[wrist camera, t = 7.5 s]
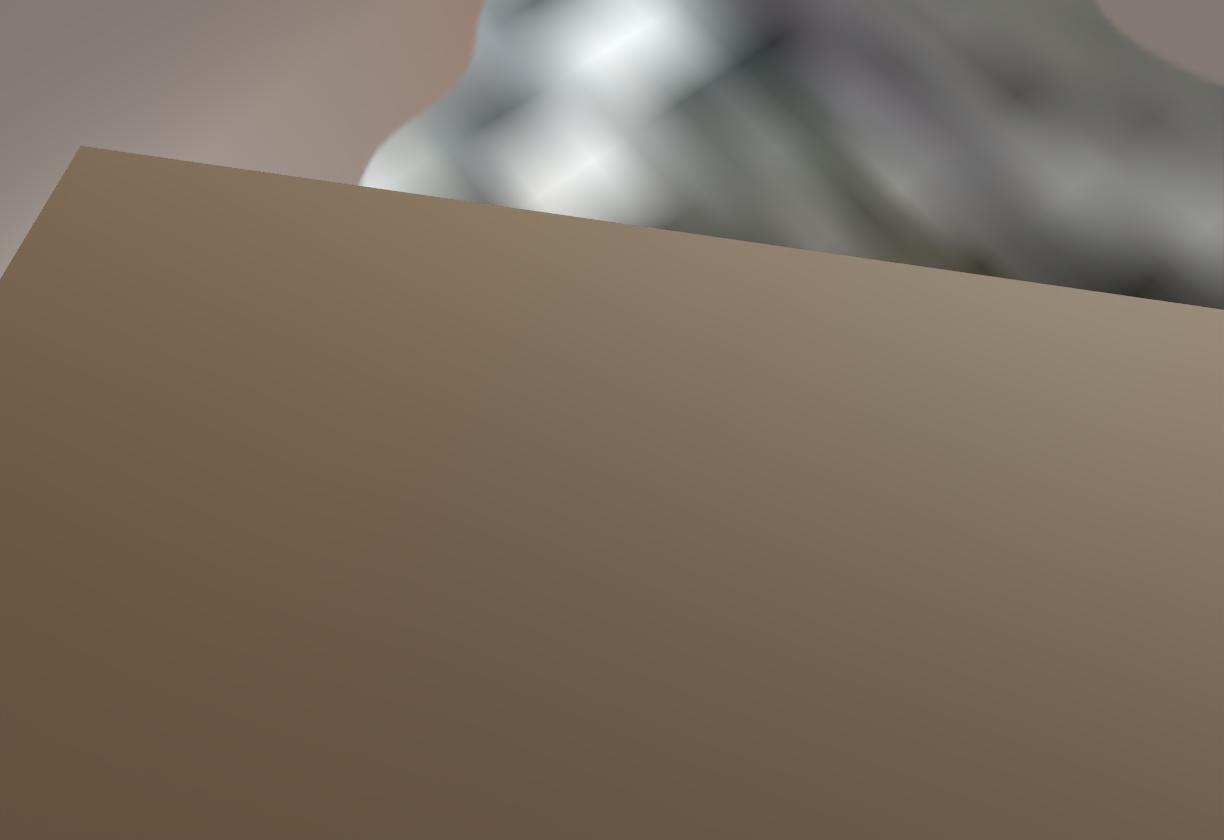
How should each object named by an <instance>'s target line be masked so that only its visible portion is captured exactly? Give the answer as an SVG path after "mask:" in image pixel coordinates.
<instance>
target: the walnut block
mask: <svg viewBox="0 0 1224 840" xmlns="http://www.w3.org/2000/svg"><path fill="white" fill-rule="evenodd" d="M0 840H1224V310H1221V309H1214V308H1207V307H1200V306H1193V305H1186V304H1179V303H1172V302H1165V301H1158V300H1151V299H1144V298H1137V297H1130V296H1123V295H1116V294H1109V293H1102V292H1095V291H1088V290H1081V289H1074V288H1067V287H1060V286H1053V285H1046V284H1039V283H1032V282H1025V281H1018V280H1011V279H1004V278H997V277H991V276H984V275H977V274H970V273H963V272H956V271H949V270H942V269H935V268H928V267H921V266H914V265H907V264H900V263H893V262H886V261H879V260H872V259H865V258H858V257H851V256H844V255H837V254H830V253H823V252H816V251H809V250H802V249H795V248H788V247H781V246H774V245H767V244H760V243H753V242H746V241H739V240H733V239H726V238H719V237H712V236H705V235H698V234H691V233H684V232H677V231H670V230H663V229H656V228H649V227H642V226H635V225H628V224H621V223H614V222H607V221H600V220H593V219H586V218H579V217H572V216H565V215H558V214H551V213H544V212H537V211H530V210H523V209H516V208H509V207H502V206H495V205H488V204H481V203H475V202H468V201H461V200H454V199H447V198H440V197H433V196H426V195H419V194H412V193H405V192H398V191H391V190H384V189H377V188H370V187H363V186H356V185H349V184H342V183H335V182H327V181H321V180H314V179H307V178H300V177H293V176H286V175H279V174H272V173H265V172H258V171H251V170H244V169H237V168H230V167H223V166H216V165H209V164H202V163H195V162H189V161H182V160H181V161H180V160H175V159H168V158H160V157H153V156H147V155H139V154H133V153H126V152H118V151H112V150H105V149H98V148H91V147H84V146H80V148H79V150H78V151H77V153H76V155H75V156H74V158H73V160H72V161H71V163H70V165H69V166H68V168H67V170H66V171H65V173H64V175H63V176H62V178H61V180H60V181H59V183H58V185H57V186H56V188H55V189H54V191H53V193H52V194H51V196H50V198H49V200H48V201H47V203H46V204H45V206H44V208H43V209H42V211H41V213H40V214H39V216H38V218H37V219H36V221H35V223H34V224H33V226H32V228H31V229H30V231H29V233H28V234H27V236H26V238H25V239H24V241H23V243H22V244H21V246H20V247H19V249H18V251H17V253H16V254H15V256H14V258H13V259H12V261H11V263H10V264H9V266H8V267H7V269H6V271H5V272H4V274H3V276H2V277H1V279H0Z"/></svg>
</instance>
